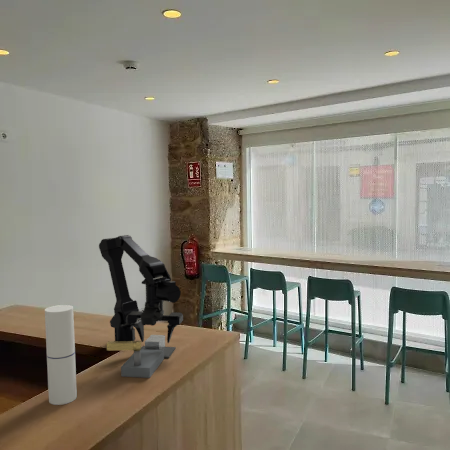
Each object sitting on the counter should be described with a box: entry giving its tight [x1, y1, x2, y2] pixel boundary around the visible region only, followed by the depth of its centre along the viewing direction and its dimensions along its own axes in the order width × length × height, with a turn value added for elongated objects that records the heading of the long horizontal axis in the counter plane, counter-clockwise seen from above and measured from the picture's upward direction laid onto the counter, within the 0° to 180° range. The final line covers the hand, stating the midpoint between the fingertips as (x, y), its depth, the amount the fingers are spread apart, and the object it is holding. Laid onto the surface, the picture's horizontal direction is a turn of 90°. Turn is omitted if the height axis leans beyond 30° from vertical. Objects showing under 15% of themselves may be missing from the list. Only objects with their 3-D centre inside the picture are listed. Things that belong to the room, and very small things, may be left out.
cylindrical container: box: [44, 304, 78, 406], centre depth 119 cm, size 7×7×25 cm
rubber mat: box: [141, 345, 176, 359], centre depth 153 cm, size 12×9×1 cm
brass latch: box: [106, 340, 142, 352], centre depth 134 cm, size 3×10×2 cm, turn 89°
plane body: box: [120, 349, 165, 379], centre depth 140 cm, size 9×15×8 cm, turn 172°
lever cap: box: [144, 334, 166, 350], centre depth 152 cm, size 5×7×4 cm
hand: (155, 342), depth 152 cm, fingers open, 9 cm apart
